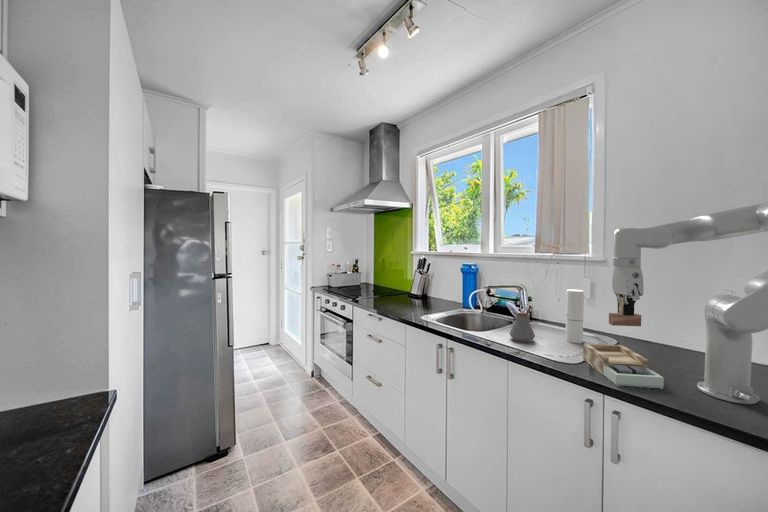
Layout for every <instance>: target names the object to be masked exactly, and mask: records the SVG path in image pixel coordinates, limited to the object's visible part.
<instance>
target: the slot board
mask: <svg viewBox="0 0 768 512" xmlns="http://www.w3.org/2000/svg"><path fill="white" fill-rule="evenodd" d="M582 353H583V356H582V360H583V359H584V360H585V361H586V362H587V364H588V365H589V364H590V365H591V366H592V367H591V366H590V365H589V366H590V367H591V368H593V369H594V368H595V369H596V370H597V371H599V372H600V373H601V374H603V375H604V366H609V367H610V368H611V369H612V365H623V366H626V367H628V368H629V366H641V367H643V368H649V359H648V358H646V357H644V356H643V355H640V354H638V353H637V352H636V351H633V350H631V349H630V348H628V347H626V346H624V345H622V344H606V343H605V344H604V343H584V342H583V352H582ZM584 360H583V361H584ZM585 361H584V362H585ZM586 362H585V363H586ZM595 369H594V370H595ZM596 370H595V371H596ZM597 371H596V372H597ZM599 372H598V373H599ZM600 373H599V374H600ZM601 374H600V375H601Z"/></svg>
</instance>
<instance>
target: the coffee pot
mask: <svg viewBox="0 0 768 512" xmlns="http://www.w3.org/2000/svg"><path fill="white" fill-rule="evenodd" d="M531 309H534V306H532V305H529V306H528V308H527V309H526V312H525V313H524V312H523V313H522V312H516V313H515V316H516V319H515V321H514V323H513V325H512V327H511V328H510V332H509V335H510V337H511V338H512V339H513V340H514V341H516V342H519V343H530V342H532V341H533V340H534V339H535V337H536V334H535V331H534V330H533V327H532V326H531V323H530V320H529V318H530V314H529V313H530V311H531Z"/></svg>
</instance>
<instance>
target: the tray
mask: <svg viewBox="0 0 768 512" xmlns="http://www.w3.org/2000/svg"><path fill="white" fill-rule="evenodd" d="M645 369H646V370H648V371H650V375H637V374H620V373H617V372H615V371H614V370H613V369H611V368H610V367H609V366H604V376H606V377H607V378H608V379H609V380H611V381H612V382H614V383H615V384H616V385H624V386H636V387H650V388H660V389H659V390H664V381H665V379H664V377H663V376H662V375H660V374H659V373H658V372H656V371H654V370H652V369H650V368H649V367H648V368H645ZM604 376H603V377H604ZM609 380H608V381H609ZM650 388H649V389H650Z"/></svg>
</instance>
